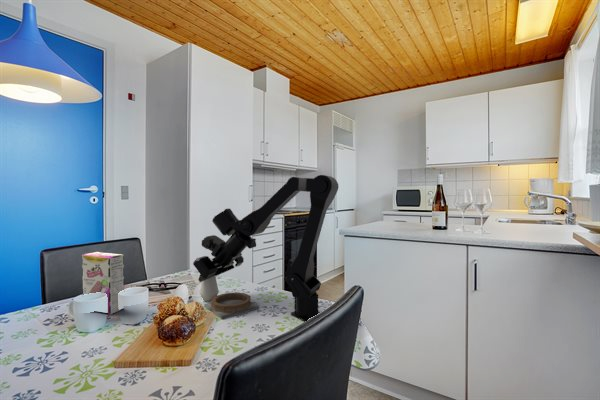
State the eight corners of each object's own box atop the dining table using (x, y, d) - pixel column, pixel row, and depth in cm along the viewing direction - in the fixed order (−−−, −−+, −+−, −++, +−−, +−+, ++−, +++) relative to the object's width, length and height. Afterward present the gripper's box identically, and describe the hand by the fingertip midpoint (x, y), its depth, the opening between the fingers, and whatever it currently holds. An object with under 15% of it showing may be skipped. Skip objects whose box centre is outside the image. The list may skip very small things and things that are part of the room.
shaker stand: (258, 308, 89) (258, 299, 88) (222, 319, 81) (221, 309, 81) (239, 297, 97) (238, 290, 97) (204, 306, 90) (203, 298, 90)
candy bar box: (81, 310, 87) (80, 254, 87) (98, 304, 92) (97, 251, 91) (109, 315, 83) (109, 257, 83) (125, 309, 88) (124, 253, 88)
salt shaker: (215, 302, 93) (215, 261, 93) (197, 302, 93) (196, 261, 93) (220, 296, 99) (220, 257, 99) (203, 296, 99) (203, 257, 99)
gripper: (235, 224, 103) (210, 254, 107) (198, 230, 86) (169, 265, 90) (255, 249, 100) (228, 278, 104) (220, 260, 83) (190, 295, 87)
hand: (205, 278), depth 97 cm, fingers open, 5 cm apart
